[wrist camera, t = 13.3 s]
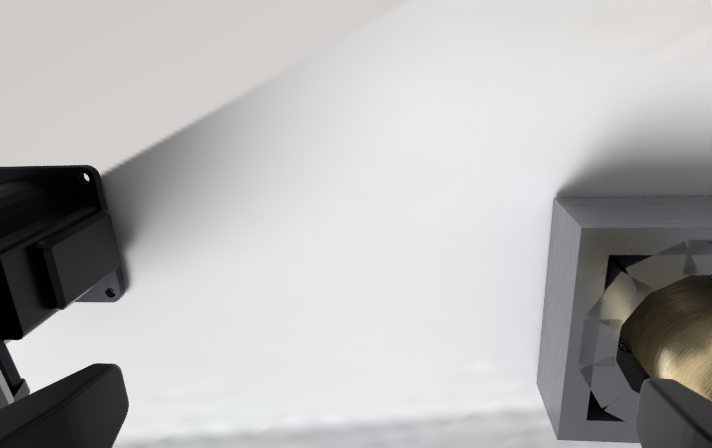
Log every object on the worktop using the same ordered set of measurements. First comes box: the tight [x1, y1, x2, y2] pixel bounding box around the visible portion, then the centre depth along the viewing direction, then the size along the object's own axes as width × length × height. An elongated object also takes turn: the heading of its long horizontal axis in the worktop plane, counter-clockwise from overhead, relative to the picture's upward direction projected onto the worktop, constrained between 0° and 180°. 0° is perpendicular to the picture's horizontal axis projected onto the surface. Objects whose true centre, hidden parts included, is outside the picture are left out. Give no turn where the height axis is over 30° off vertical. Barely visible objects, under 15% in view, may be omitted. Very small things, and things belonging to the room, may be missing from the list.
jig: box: [537, 196, 712, 443], centre depth 20 cm, size 9×9×4 cm
